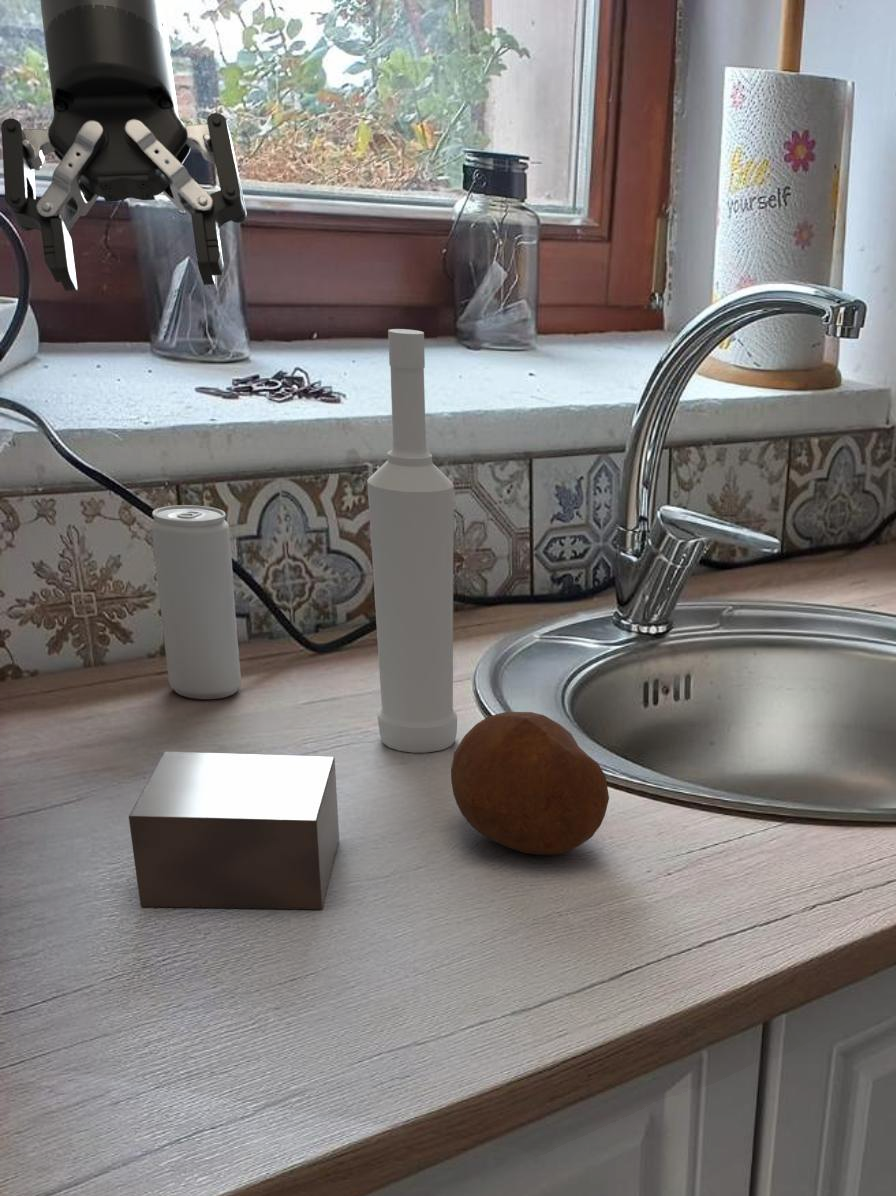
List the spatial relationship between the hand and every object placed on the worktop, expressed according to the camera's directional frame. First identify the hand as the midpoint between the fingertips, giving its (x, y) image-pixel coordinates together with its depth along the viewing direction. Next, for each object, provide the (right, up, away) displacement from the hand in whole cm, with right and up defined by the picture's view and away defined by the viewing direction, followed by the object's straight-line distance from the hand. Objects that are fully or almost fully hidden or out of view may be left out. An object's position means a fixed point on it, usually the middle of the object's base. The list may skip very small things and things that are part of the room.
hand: (138, 281), depth 98 cm
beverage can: (+1, -25, +9) cm, 26 cm away
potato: (+26, -37, -9) cm, 46 cm away
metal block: (+12, -39, -15) cm, 44 cm away
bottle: (+17, -29, +4) cm, 34 cm away
